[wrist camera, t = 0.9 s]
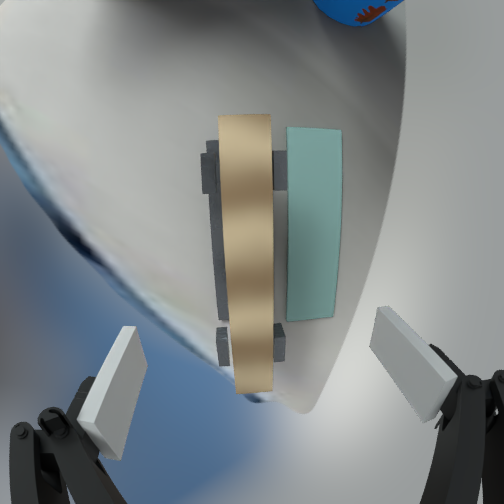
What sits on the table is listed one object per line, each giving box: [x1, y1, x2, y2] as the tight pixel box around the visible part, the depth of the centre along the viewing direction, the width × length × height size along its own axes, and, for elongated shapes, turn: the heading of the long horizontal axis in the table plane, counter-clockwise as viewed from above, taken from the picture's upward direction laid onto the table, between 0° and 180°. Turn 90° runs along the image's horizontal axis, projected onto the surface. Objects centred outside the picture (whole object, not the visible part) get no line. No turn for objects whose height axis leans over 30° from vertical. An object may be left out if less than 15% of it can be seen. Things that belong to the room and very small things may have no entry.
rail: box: [218, 114, 274, 394], centre depth 22 cm, size 24×4×4 cm, turn 2°
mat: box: [286, 127, 342, 322], centre depth 35 cm, size 26×7×1 cm, turn 2°
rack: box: [201, 140, 288, 366], centre depth 28 cm, size 23×7×13 cm, turn 2°
